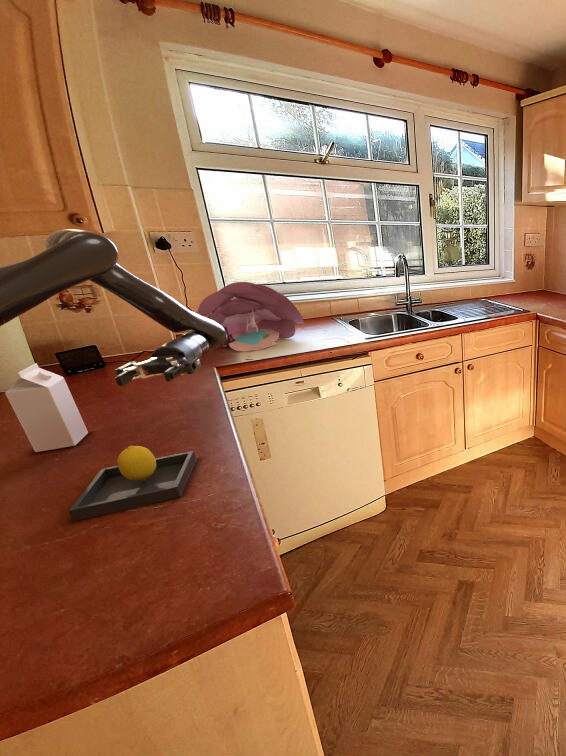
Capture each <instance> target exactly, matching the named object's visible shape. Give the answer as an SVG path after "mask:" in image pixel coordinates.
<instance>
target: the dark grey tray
mask: <svg viewBox="0 0 566 756" xmlns="http://www.w3.org/2000/svg"><path fill="white" fill-rule="evenodd" d="M155 459H156V469H155V471H154V473H153V474H152V475H151V476H149V477H148V478H147V480H145V481H140V480H138V481H134V480H129V479H127V478H126V477H124V476H123V475H122V474H121V472H120V470H119V467H118V465H113V466H109V467H104V468H101V469H100V470H99V471H98V473H97V474H96V476H94V478H93V479H92V480H91V481H90V483H89V484H88V485H87V487H86V488H85V489H84V491H83V492H82V493H81V494H80V496H79V497H78V498H77V499H76V500H75V502H74V503H73V504H72V505H71V507H70V508H69V510H68V513H69V515H70V517H71V519H72V521H73V522H77V521H81V520H86V519H89V518H96V517H99V516H104V515H108V514H113V513H116V512H121V511H125V510H130V509H134V508H139V507H144V506H148V505H152V504H156V503H157V504H158V503H159V502H165V501H169V500H174V499H178V498H181V497H182V496H183V492H184V490H185V489H186V486H187V483H188V480H189V479H190V476H191V474H192V472H193V469H194V467H195V465H196V462H197V457H196V454H195V451H194V450H191V451H187V452H180V453H175V454H170V455H166V456H160V457H155Z"/></svg>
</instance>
